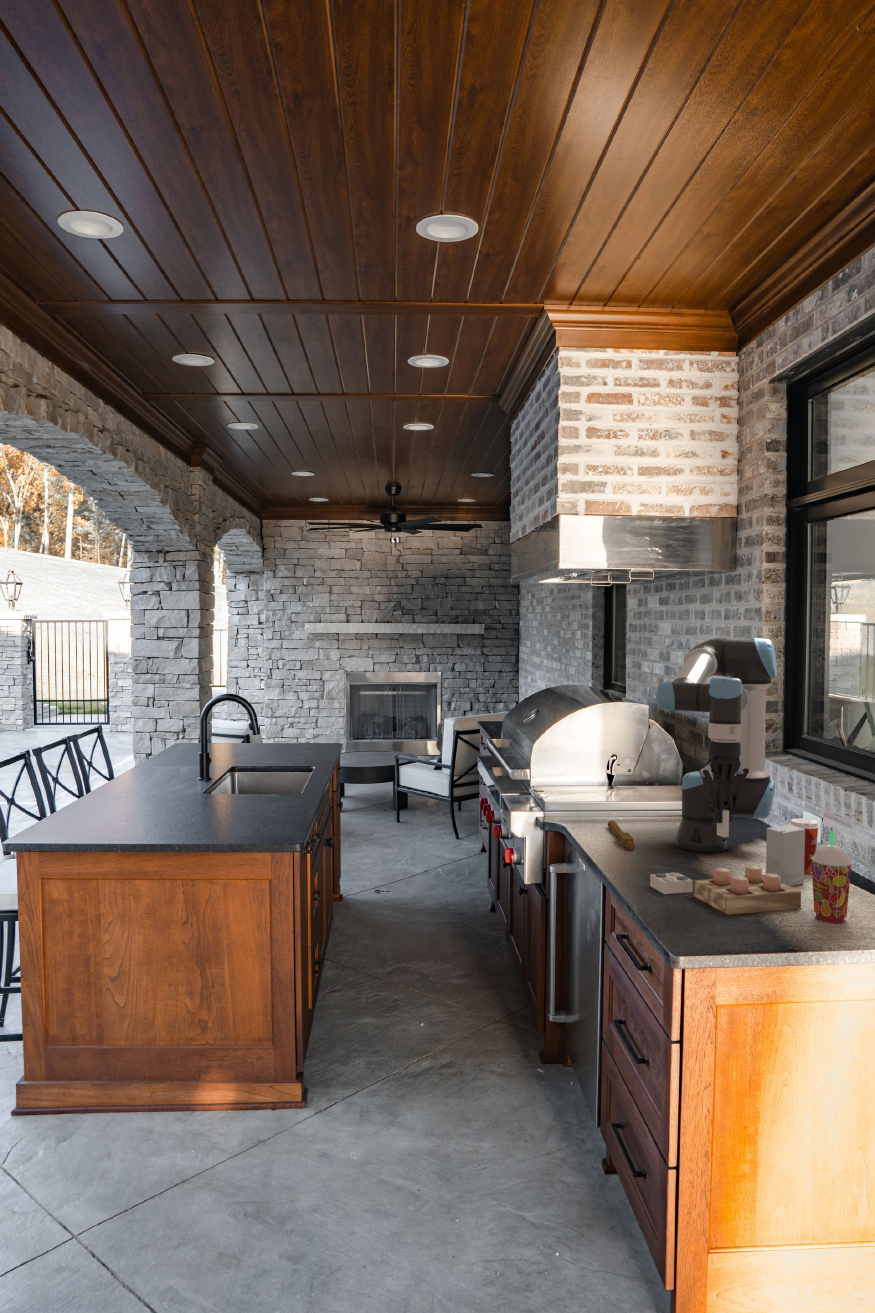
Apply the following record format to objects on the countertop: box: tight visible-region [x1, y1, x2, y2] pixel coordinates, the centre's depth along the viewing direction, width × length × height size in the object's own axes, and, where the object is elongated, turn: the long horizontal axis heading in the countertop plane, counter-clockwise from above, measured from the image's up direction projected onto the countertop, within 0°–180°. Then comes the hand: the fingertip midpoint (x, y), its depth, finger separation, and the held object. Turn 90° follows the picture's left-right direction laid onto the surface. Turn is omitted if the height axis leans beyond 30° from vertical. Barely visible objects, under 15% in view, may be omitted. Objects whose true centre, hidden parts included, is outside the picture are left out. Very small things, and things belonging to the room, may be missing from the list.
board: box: [693, 874, 802, 916], centre depth 199 cm, size 14×20×4 cm
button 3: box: [744, 865, 763, 884], centre depth 204 cm, size 4×4×4 cm
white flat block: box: [649, 871, 694, 895], centre depth 209 cm, size 7×8×3 cm
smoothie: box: [811, 832, 853, 924], centre depth 188 cm, size 8×8×20 cm
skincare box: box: [765, 824, 805, 887], centre depth 215 cm, size 8×6×15 cm
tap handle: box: [607, 820, 636, 851], centre depth 262 cm, size 3×3×30 cm
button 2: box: [730, 875, 749, 895], centre depth 195 cm, size 4×4×4 cm
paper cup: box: [788, 817, 820, 874], centre depth 227 cm, size 8×8×14 cm
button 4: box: [762, 873, 781, 893], centre depth 197 cm, size 4×4×4 cm
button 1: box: [712, 867, 732, 886], centre depth 202 cm, size 4×4×4 cm
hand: (722, 835), depth 201 cm, fingers closed
